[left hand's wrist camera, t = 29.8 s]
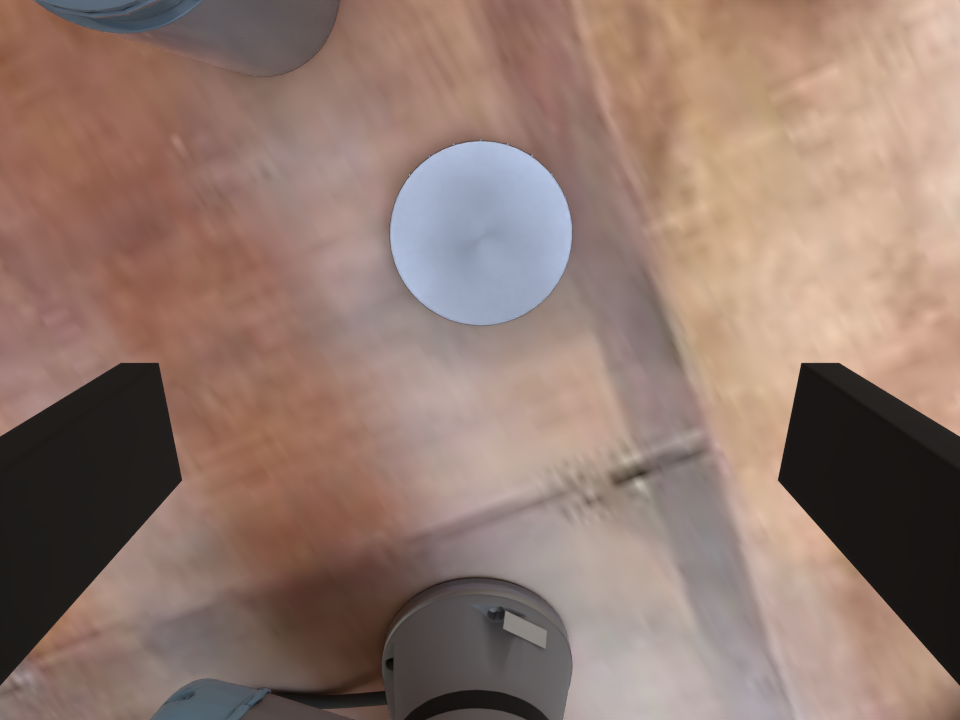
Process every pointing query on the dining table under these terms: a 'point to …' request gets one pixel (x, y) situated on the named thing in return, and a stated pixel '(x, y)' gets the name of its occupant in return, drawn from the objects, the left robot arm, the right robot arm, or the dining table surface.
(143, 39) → the jar
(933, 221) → the dining table surface
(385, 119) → the dining table surface
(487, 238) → the lid
